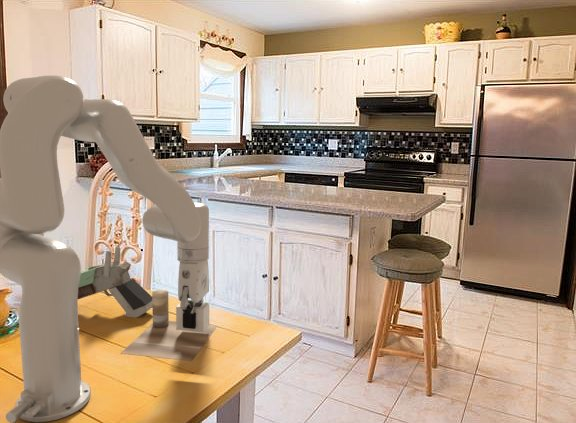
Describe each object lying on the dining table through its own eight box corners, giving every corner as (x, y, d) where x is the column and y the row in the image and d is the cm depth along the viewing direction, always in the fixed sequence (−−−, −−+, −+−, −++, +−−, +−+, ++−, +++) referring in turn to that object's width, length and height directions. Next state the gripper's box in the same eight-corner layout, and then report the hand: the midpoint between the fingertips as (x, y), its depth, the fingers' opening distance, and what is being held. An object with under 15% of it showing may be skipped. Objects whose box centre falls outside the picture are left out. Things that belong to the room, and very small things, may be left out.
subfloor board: (191, 365, 99) (191, 360, 98) (120, 358, 101) (120, 353, 101) (217, 329, 117) (217, 325, 117) (156, 323, 120) (156, 319, 119)
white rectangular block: (203, 332, 109) (203, 308, 108) (176, 329, 110) (176, 306, 109) (209, 324, 113) (209, 302, 112) (183, 322, 114) (183, 299, 113)
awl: (164, 329, 114) (164, 295, 112) (150, 327, 114) (149, 294, 113) (171, 322, 118) (170, 290, 116) (156, 321, 118) (156, 289, 117)
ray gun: (147, 315, 118) (119, 246, 116) (51, 345, 125) (23, 280, 123) (160, 306, 125) (133, 240, 123) (68, 334, 132) (41, 272, 130)
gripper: (195, 263, 100) (195, 339, 103) (218, 246, 116) (217, 312, 119) (164, 261, 101) (165, 336, 104) (190, 244, 117) (190, 309, 120)
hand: (193, 322), depth 111 cm, fingers closed on white rectangular block, 4 cm apart
